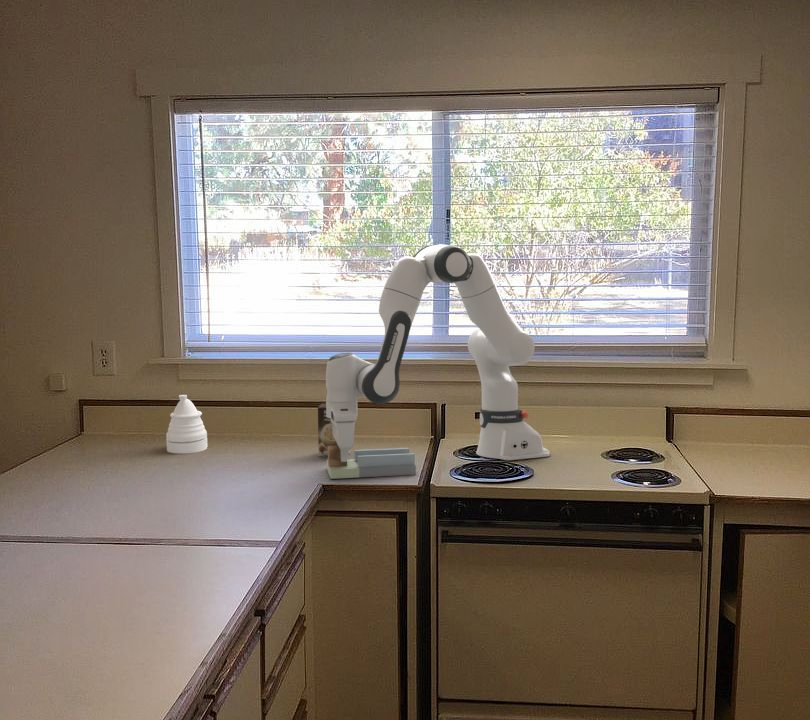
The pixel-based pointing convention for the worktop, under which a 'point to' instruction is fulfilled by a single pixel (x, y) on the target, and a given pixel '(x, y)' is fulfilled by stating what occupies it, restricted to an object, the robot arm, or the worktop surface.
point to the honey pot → (186, 429)
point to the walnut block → (335, 457)
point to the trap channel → (376, 464)
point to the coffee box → (325, 431)
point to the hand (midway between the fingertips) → (342, 458)
